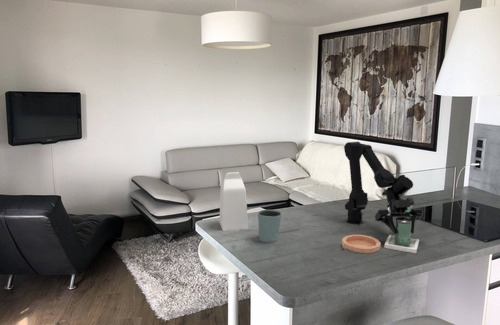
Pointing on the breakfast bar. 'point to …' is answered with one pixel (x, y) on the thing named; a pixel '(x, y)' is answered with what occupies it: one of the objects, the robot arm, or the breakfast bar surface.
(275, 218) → the blue-grey cup
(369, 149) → the robot arm
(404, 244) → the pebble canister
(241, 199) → the milk
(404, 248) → the tray
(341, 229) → the breakfast bar surface
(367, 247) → the bowl
